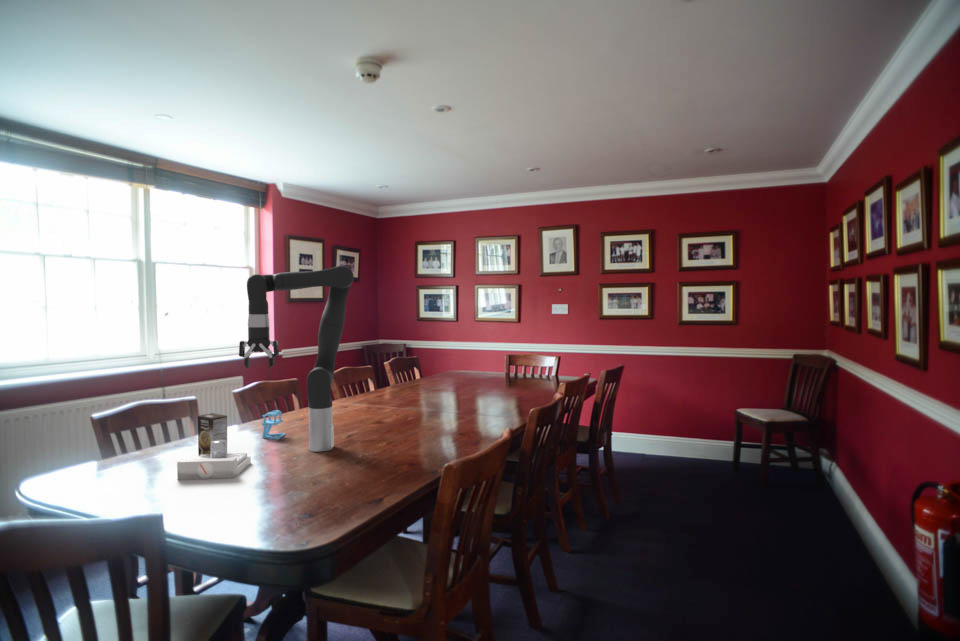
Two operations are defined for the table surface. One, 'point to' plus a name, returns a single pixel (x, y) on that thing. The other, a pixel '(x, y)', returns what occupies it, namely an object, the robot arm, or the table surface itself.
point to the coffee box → (211, 431)
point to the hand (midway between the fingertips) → (259, 367)
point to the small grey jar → (218, 449)
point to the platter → (238, 455)
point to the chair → (270, 423)
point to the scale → (210, 468)
